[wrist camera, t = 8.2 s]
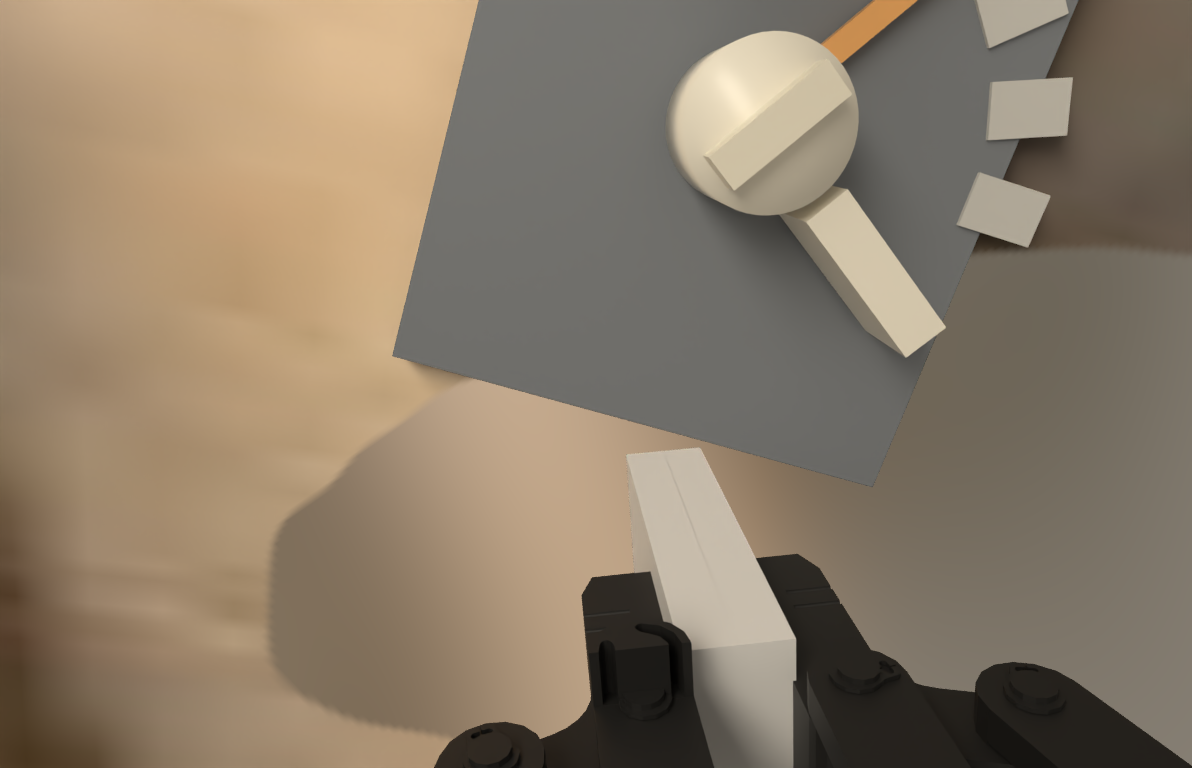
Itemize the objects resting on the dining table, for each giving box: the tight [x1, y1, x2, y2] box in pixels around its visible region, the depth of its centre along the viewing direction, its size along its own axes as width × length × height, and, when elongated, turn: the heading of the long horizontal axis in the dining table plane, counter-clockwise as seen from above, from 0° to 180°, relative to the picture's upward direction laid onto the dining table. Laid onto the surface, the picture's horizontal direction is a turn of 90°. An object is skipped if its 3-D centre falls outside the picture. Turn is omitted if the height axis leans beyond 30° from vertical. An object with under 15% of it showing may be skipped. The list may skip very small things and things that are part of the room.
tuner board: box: [392, 0, 1078, 487], centre depth 35 cm, size 24×26×2 cm
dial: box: [665, 0, 946, 357], centre depth 31 cm, size 16×13×6 cm
